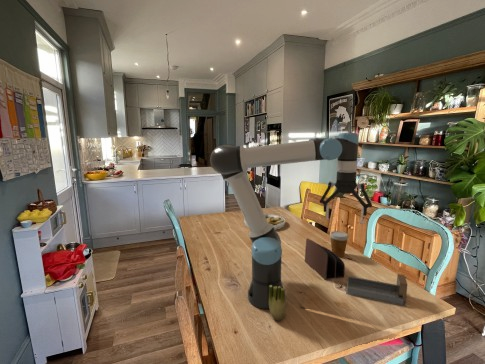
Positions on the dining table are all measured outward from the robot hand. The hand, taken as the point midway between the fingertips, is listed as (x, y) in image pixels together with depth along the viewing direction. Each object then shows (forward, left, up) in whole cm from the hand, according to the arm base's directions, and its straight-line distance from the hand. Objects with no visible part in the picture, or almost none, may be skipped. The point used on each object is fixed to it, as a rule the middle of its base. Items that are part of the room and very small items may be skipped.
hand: (344, 221), depth 109 cm
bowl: (+61, +56, -29) cm, 88 cm away
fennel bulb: (-32, +20, -29) cm, 47 cm away
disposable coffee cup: (+30, +3, -29) cm, 42 cm away
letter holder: (+10, +9, -29) cm, 32 cm away
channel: (-3, -13, -29) cm, 32 cm away
